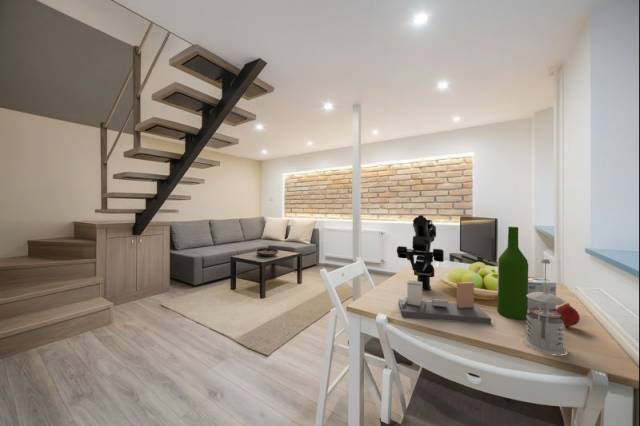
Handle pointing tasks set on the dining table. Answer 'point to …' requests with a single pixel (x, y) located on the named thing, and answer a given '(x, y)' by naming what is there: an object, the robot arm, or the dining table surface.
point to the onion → (568, 315)
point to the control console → (443, 312)
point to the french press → (544, 323)
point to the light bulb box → (539, 286)
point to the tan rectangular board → (465, 295)
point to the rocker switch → (440, 302)
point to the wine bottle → (512, 280)
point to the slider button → (414, 293)
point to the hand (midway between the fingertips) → (417, 270)
